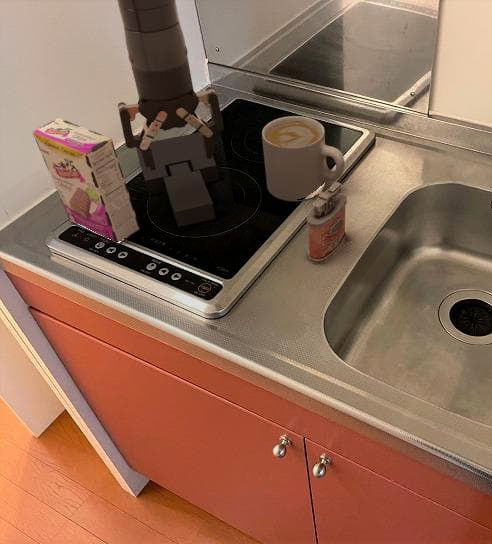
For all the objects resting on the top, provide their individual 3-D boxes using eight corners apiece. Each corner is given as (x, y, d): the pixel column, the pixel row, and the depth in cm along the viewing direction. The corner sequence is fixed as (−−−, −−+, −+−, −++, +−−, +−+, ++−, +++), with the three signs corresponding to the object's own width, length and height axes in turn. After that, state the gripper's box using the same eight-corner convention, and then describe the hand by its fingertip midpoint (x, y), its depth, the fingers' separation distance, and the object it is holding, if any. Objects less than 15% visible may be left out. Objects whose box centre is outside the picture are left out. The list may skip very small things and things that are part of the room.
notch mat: (148, 195, 96) (144, 180, 93) (139, 159, 104) (135, 144, 102) (219, 180, 98) (216, 165, 96) (204, 146, 107) (201, 131, 105)
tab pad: (178, 227, 89) (174, 212, 87) (164, 182, 98) (160, 167, 96) (215, 218, 91) (212, 203, 89) (198, 174, 100) (195, 160, 98)
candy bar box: (68, 223, 90) (29, 131, 79) (92, 207, 93) (58, 115, 82) (118, 247, 86) (84, 153, 75) (141, 229, 89) (113, 136, 78)
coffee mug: (255, 189, 96) (249, 137, 89) (289, 161, 102) (285, 110, 95) (322, 215, 91) (321, 161, 84) (353, 184, 97) (355, 131, 90)
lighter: (322, 267, 82) (321, 212, 75) (303, 259, 83) (300, 204, 76) (351, 236, 87) (352, 182, 80) (332, 229, 88) (332, 175, 81)
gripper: (205, 39, 81) (220, 141, 92) (101, 55, 77) (130, 159, 88) (217, 59, 75) (232, 164, 87) (106, 77, 72) (136, 184, 83)
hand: (180, 161), depth 87 cm, fingers open, 8 cm apart
